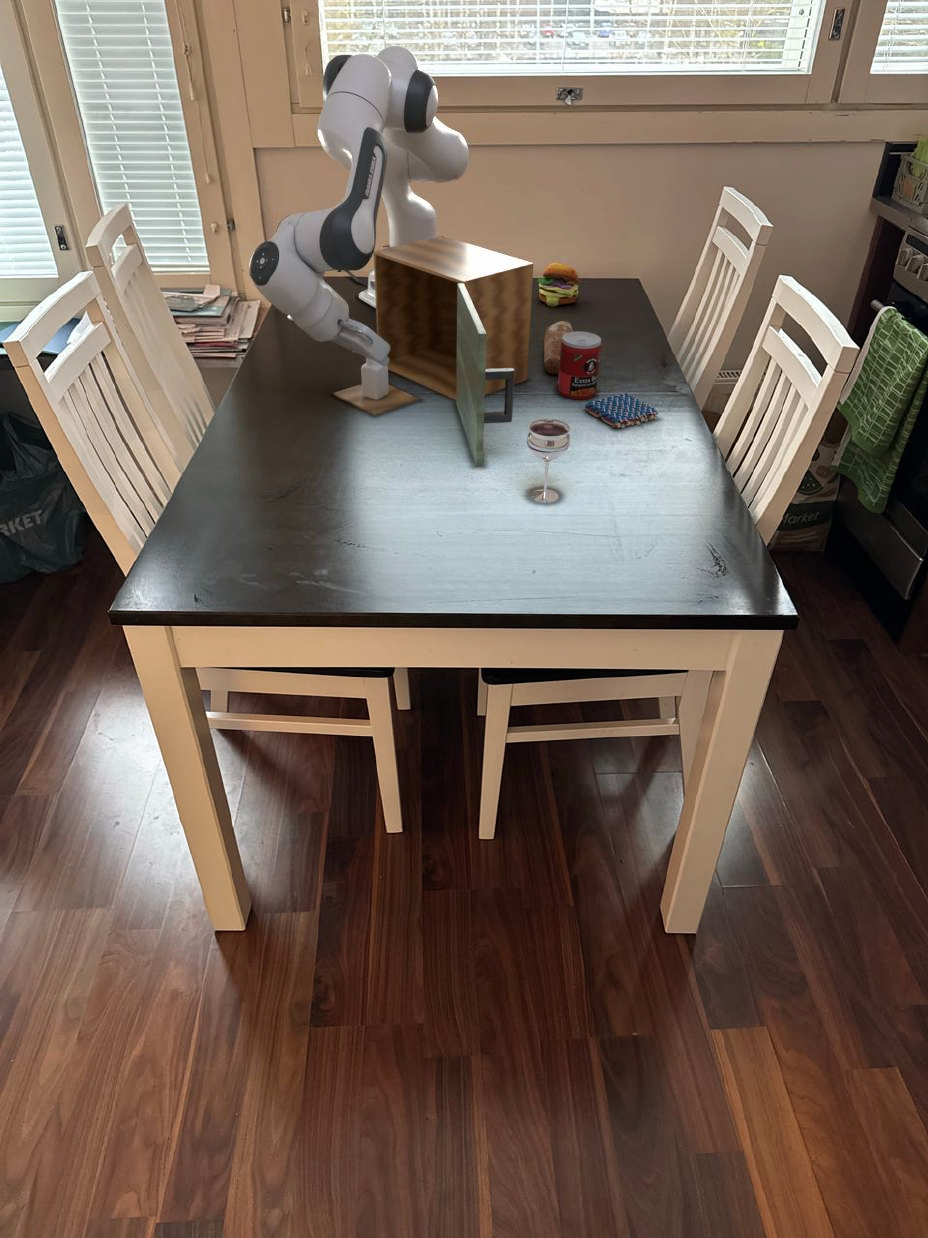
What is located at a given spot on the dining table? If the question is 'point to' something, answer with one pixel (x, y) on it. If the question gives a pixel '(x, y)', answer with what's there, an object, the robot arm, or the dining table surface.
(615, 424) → the woven mat
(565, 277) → the cheeseburger
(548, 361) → the bread
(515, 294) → the cupboard
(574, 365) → the canned food
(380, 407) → the coaster
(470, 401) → the cupboard door
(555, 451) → the wineglass
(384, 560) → the dining table surface
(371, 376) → the pepper shaker
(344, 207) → the robot arm
